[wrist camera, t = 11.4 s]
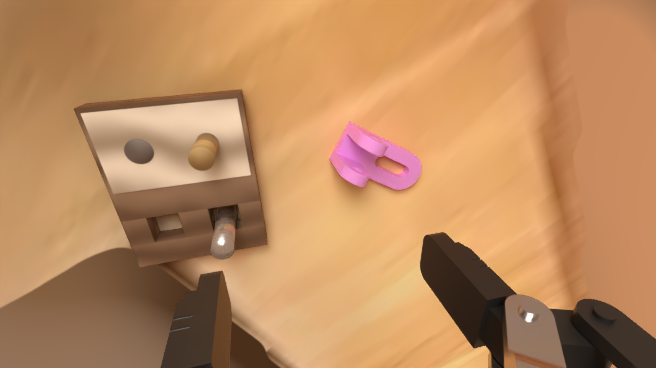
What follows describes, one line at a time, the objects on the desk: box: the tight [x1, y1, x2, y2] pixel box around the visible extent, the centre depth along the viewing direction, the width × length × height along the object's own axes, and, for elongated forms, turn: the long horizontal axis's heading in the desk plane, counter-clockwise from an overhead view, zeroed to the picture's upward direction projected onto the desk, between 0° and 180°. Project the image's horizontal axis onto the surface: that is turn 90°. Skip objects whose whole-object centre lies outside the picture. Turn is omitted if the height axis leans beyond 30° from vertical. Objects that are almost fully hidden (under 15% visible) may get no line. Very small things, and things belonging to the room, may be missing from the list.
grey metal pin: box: [210, 205, 237, 259], centre depth 37 cm, size 2×2×9 cm
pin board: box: [74, 90, 267, 267], centre depth 35 cm, size 20×16×8 cm
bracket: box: [329, 121, 421, 190], centre depth 40 cm, size 13×6×7 cm, turn 61°
